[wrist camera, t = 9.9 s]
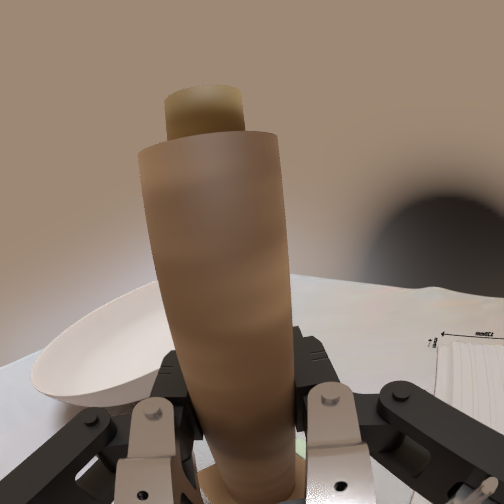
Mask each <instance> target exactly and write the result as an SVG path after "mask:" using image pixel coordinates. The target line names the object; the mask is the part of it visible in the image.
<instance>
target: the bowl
mask: <svg viewBox="0 0 504 504" xmlns="http://www.w3.org/2000/svg"><path fill="white" fill-rule="evenodd" d="M171 350H175V347H174V343H173V340H172V336H171V332H170V329H169V325H168V321H167V317H166V313H165V309H164V305H163V301H162V297H161V293H160V288H159V284H158V280H156V281H153V282H151V283H149V284H146V285H144V286H142V287H139V288H137V289H135V290H133V291H130V292H128V293H126V294H124V295H122V296H120V297H118V298H116V299H114V300H112V301H111V302H108V303H107V304H105V305H103V306H101V307H100V308H98V309H96V310H94V311H93V312H91V313H89V314H88V315H86V316H85V317H83V318H82V319H80V320H78V321H77V322H76V323H74V324H73V325H71V326H70V327H69V328H67V329H66V330H65V331H63V332H62V333H61V334H60V335H58V336H57V337H56V338H55V339H54V340H53V341H52V342H51V343H50V344H49V345H48V346H47V347H46V348H45V349H44V350H43V351H42V352H41V354H40V355H39V356H38V358H37V359H36V361H35V363H34V365H33V367H32V370H31V376H30V377H31V382H32V384H33V386H34V387H35V388H36V389H37V390H38V391H39V392H41V393H42V394H44V395H46V396H49V397H51V398H54V399H56V400H59V401H62V402H66V403H70V404H74V405H79V406H86V407H111V406H118V405H124V404H128V403H132V402H136V401H139V400H142V399H145V398H148V397H149V396H150V393H151V391H152V388H153V385H154V382H155V379H156V377H157V375H158V371H159V368H160V366H161V363H162V360H163V358H164V357H165V356H166V355H167V354H168V353H169V352H170V351H171Z"/></svg>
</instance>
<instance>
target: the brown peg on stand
mask: <svg viewBox="0 0 504 504" xmlns="http://www.w3.org/2000/svg"><path fill="white" fill-rule="evenodd" d="M164 103H165V118H166V130H167V141H166V142H162V143H159V144H156V145H153V146H150V147H148V148H146V149H144V150H142V151H140V152H139V153H138V161H139V170H140V179H141V187H142V194H143V201H144V208H145V215H146V221H147V227H148V233H149V239H150V244H151V250H152V255H153V260H154V265H155V270H156V275H157V279H158V284H159V288H160V293H161V297H162V301H163V305H164V309H165V313H166V317H167V321H168V325H169V329H170V332H171V336H172V340H173V343H174V347H175V350H176V354H177V357H178V360H179V364H180V367H181V370H182V373H183V376H184V380H185V383H186V386H187V389H188V392H189V395H190V398H191V400H192V403H193V406H194V409H195V412H196V415H197V417H198V420H199V423H200V425H201V428H202V430H203V433H204V436H205V438H206V441H207V443H208V446H209V448H210V450H211V453H212V455H213V458H214V460H215V462H216V464H214V465H211V466H209V467H207V468H205V469H203V470H201V471H199V472H197V475H198V481H199V486H200V488H201V490H202V491H203V493H204V494H205V496H206V497H207V498H208V499H209V501H210V502H211V503H212V504H277V503H280V502H283V501H289V500H296V499H302V498H304V486H305V461H304V460H303V459H302V458H300V457H299V456H298V455H297V454H296V437H295V387H294V378H295V377H294V348H293V326H292V306H291V289H290V273H289V259H288V245H287V233H286V220H285V209H284V199H283V187H282V177H281V167H280V157H279V149H278V139H277V136H276V135H275V134H272V133H267V132H258V131H245V123H244V115H243V106H242V97H241V91H240V90H239V89H237V88H235V87H232V86H226V85H202V86H196V87H190V88H186V89H183V90H180V91H177V92H175V93H173V94H171V95H169V96H168V97H167V98H166V99H165V101H164Z"/></svg>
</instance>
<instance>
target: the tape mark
mask: <svg viewBox="0 0 504 504" xmlns="http://www.w3.org/2000/svg"><path fill="white" fill-rule="evenodd" d="M296 454H298V455H299V456H300V457H301V458H303V459H304V460H305V461H306V443H305V442H303V441H302V440H301V439H299V438H297V439H296Z"/></svg>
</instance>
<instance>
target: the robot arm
mask: <svg viewBox="0 0 504 504" xmlns="http://www.w3.org/2000/svg"><path fill="white" fill-rule="evenodd" d="M293 348H294V377H295V378H294V387H295V426H296V430H297V432H302V431H304V432H305V436H306V461H305V486H304V498H302V499H296V500H289V501H283V502H280V503H277V504H376V497H375V489H374V481H373V474H372V467H371V461H370V456H371V457H373V458H374V459H375V460H376V461H377V462H379V463H380V464H381V465H382V466H384V467H385V468H386V469H387V470H388V471H390V472H391V473H392V474H393V475H395V476H396V477H397V478H399V479H400V480H401V481H402V482H404V483H405V484H406V485H408V486H409V487H410V488H412V489H413V490H414V491H416V492H417V493H418V494H420V495H421V496H422V497H424V498H425V499H426V500H428V501H429V502H431V503H432V504H504V435H503V434H501V433H499V432H497V431H495V430H494V429H492V428H490V427H488V426H486V425H484V424H483V423H481V422H479V421H477V420H475V419H474V418H472V417H470V416H468V415H466V414H465V413H463V412H461V411H459V410H458V409H456V408H454V407H452V406H451V405H449V404H447V403H445V402H444V401H442V400H440V399H439V398H437V397H435V396H433V395H432V394H430V393H428V392H427V391H425V390H423V389H421V388H420V387H418V386H416V385H415V384H413V383H411V382H408V381H393V382H390V383H388V384H386V385H385V386H384V387H383V388H382V389H381V391H380V394H358V393H354V392H352V391H351V389H350V388H349V387H348V386H346V385H344V384H342V383H340V381H339V379H338V376H337V374H336V372H335V370H334V368H333V366H332V364H331V362H330V359H329V358H328V355H327V353H326V352H325V349H324V347H323V345H322V343H321V341H319V340H318V339H316V338H315V337H314V336H309V337H303V336H302V334H301V331H300V329H299V326H294V327H293ZM194 440H203V430H202V428H201V425H200V423H199V420H198V417H197V415H196V412H195V409H194V406H193V403H192V400H191V398H190V395H189V392H188V389H187V386H186V383H185V380H184V376H183V373H182V370H181V367H180V364H179V360H178V357H177V354H176V350H171V351H170V352H169V353H168V354H167V355H166V356H165V357H164V358H163V360H162V363H161V366H160V368H159V371H158V375H157V377H156V379H155V382H154V385H153V388H152V391H151V393H150V396H149V398H147V399H144V400H142V401H141V402H139V403H138V404H137V405H136V406H135V407H134V409H133V412H132V414H128V415H122V416H116V417H111V416H110V415H109V413H108V412H107V410H105V409H103V408H101V407H90V408H87V409H84V410H83V411H81V412H80V413H79V414H78V415H76V416H75V417H74V418H73V419H72V420H71V421H69V422H68V423H67V424H66V425H65V426H64V427H63V428H61V429H60V430H59V431H58V432H57V433H56V434H54V435H53V436H52V437H51V438H50V439H49V440H48V441H46V442H45V443H44V444H43V445H42V446H41V447H39V448H38V449H37V450H36V451H35V452H34V453H32V454H31V455H30V456H29V457H28V458H27V459H25V460H24V461H23V462H22V463H21V464H20V465H18V466H17V467H16V468H15V469H14V470H13V471H11V472H10V473H9V474H8V475H7V476H6V477H4V478H3V479H2V480H1V481H0V504H111V503H112V502H113V501H114V504H204V502H203V499H202V497H201V493H200V487H199V481H198V475H197V468H196V461H195V455H194V452H193V442H194ZM95 455H96V456H97V458H98V460H97V461H96V462H95V463H94V464H93V465H92V466H91V467H90V468H89V469H88V470H87V471H86V472H85V473H84V474H83V475H82V476H81V477H80V478H79V479H78V480H76V481H75V477H76V475H77V473H78V472H79V471H80V470H81V469H82V468H83V467H84V466H85V465H86V464H87V463H88V462H89V461H90V460H91V459H92V458H93V457H94V456H95Z"/></svg>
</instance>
